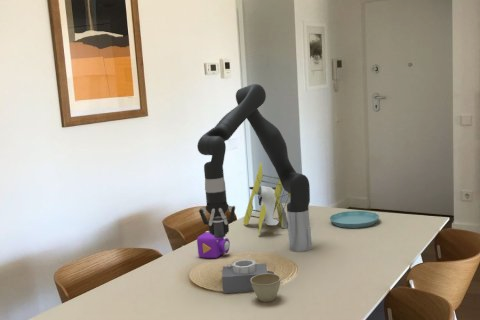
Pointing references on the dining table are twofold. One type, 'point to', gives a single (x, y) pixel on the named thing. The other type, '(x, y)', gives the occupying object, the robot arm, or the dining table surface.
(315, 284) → the dining table surface
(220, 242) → the toy camera
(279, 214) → the biplane
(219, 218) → the lens
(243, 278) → the camera body
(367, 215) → the saucer
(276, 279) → the flower pot
